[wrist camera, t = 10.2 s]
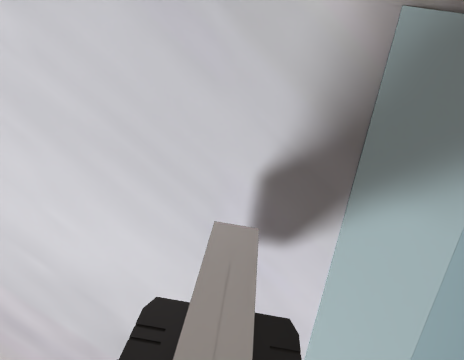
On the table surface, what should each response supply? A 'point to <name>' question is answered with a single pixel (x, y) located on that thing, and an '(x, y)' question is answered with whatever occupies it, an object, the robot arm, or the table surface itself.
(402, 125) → the plate
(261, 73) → the table surface
